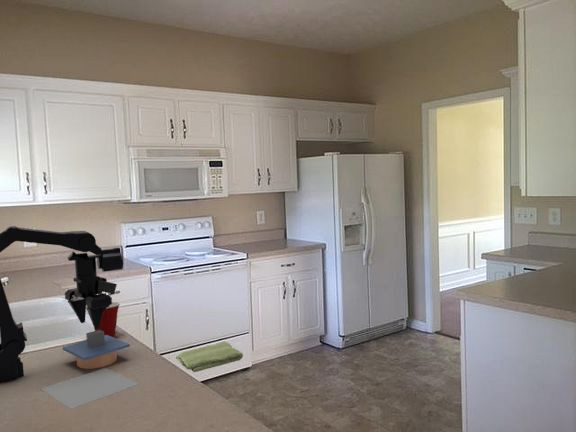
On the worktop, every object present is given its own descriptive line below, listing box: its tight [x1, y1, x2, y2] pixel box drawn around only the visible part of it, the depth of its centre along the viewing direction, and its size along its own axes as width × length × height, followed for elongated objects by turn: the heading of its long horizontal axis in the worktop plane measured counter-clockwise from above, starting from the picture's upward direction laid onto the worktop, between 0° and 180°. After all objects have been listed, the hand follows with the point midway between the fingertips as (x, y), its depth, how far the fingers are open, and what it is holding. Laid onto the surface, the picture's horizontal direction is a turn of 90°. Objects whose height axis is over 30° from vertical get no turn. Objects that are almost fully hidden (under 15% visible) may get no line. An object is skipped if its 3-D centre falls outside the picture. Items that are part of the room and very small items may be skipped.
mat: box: [40, 367, 139, 410], centre depth 134 cm, size 18×18×1 cm
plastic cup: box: [93, 301, 121, 338], centre depth 177 cm, size 11×11×12 cm
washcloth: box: [175, 341, 244, 373], centre depth 153 cm, size 13×18×3 cm
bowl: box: [75, 351, 118, 370], centre depth 152 cm, size 11×11×5 cm
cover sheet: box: [62, 330, 131, 360], centre depth 152 cm, size 14×14×5 cm
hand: (89, 325), depth 152 cm, fingers open, 9 cm apart
